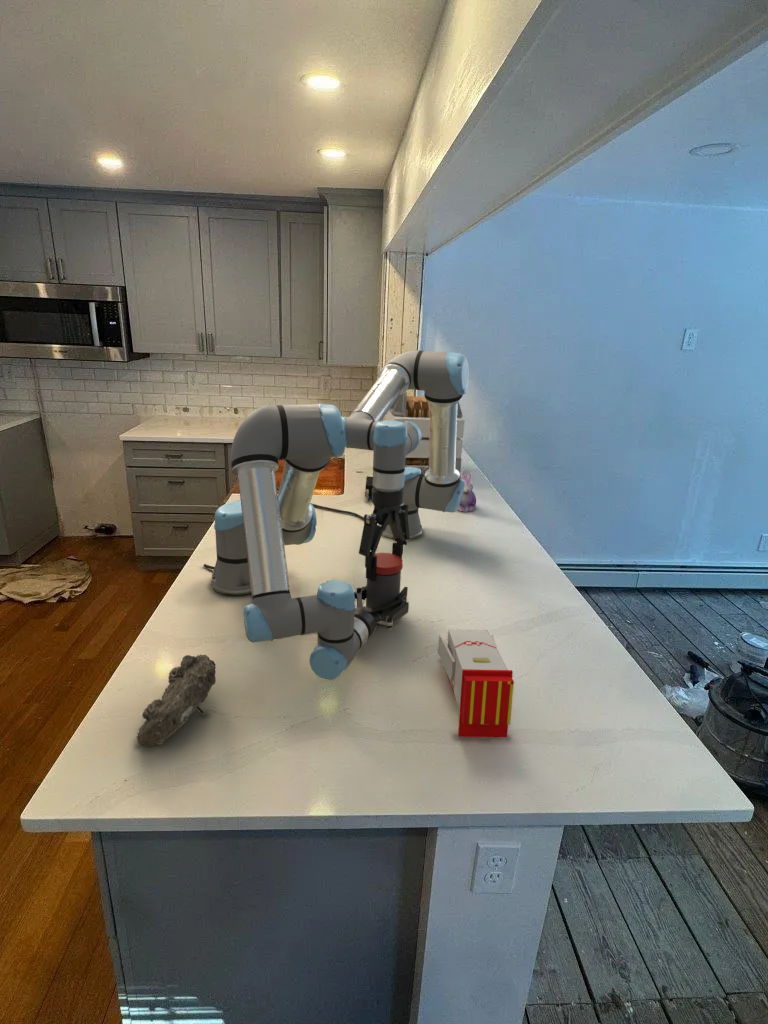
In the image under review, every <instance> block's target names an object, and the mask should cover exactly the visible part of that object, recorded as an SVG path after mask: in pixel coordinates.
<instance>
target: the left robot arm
mask: <svg viewBox="0 0 768 1024" xmlns="http://www.w3.org/2000/svg"><path fill="white" fill-rule="evenodd" d="M342 417H343V416H342V414H341V412H340V410H339V408H338V407H337V406H336V405H334V404H327V403H325V404H324V403H307V404H278V405H277V404H267V405H262V406H260V407H258V408H257V409H254V410H253V411H252V412H251V413H249V414H248V415H247V416H246V417H245V418H244V419H243V421H242V422H241V424H240V425H239V427H238V429H237V431H236V432H235V434H234V437H233V441H232V444H231V449H230V465H231V467H230V468H231V473H232V474H234V475H235V476H236V477H237V481H238V489H239V500H234V501H229V502H226V503H224V504H223V505H221V506H219V507H218V508H217V509H216V511H215V513H214V525H213V528H214V531H215V549H216V562H215V564H214V566H213V565H208V564H206V563H204V564H203V567H204V568H207V569H209V570H213V572H212V575H211V588H212V589H213V590H214V591H215V592H217V593H219V594H222V595H226V596H245V595H250V594H251V599H252V601H251V602H250V603H248V604H245V605H244V607H243V609H242V614H243V627H244V633H245V637H246V639H247V640H248V641H249V642H251V643H260V642H267V641H268V642H269V641H270V642H273V641H275V640H281V639H285V638H291V637H297V636H304V635H312V634H317V644H316V646H315V647H314V648H313V650H312V652H311V654H310V655H309V660H308V662H309V666H310V668H311V671H312V672H313V673H314V674H315V675H316V676H317V677H319V678H320V679H323V680H327V681H333V680H336V679H337V678H339V677H340V676H341V675H342V674H343V672H345V671H346V670H347V669H348V667H349V666H350V664H351V663H352V661H353V660H354V659H355V658H356V657H357V655H358V653H359V652H360V650H361V649H362V648H363V647H364V645H365V644H366V643H367V641H368V640H369V639H370V638H371V636H372V635H373V634H374V632H375V630H376V628H378V627H380V626H386V629H388V630H391V629H392V628H393V627H394V625H395V623H397V622H398V621H399V620H401V619H402V618H403V617H404V616H405V615H407V614H408V613H409V609H410V608H409V607H410V603H409V601H408V589H409V588H408V586H404V587H403V588H402V590H400V593H399V595H398V596H397V597H396V601H394V602H392V603H389V604H387V605H385V606H382V607H380V606H378V607H376V608H368V607H366V605H364V604H363V602H364V601H366V586H367V584H365V586H361V587H360V586H359V587H356V591H355V589H354V587H353V586H352V585H351V584H350V583H349V582H347V581H345V580H339V579H330V580H327V581H325V582H322V583H320V584H319V585H318V587H317V591H316V594H312V595H305V596H299V597H298V596H297V597H292V595H291V587H290V579H289V571H288V564H287V556H286V549H285V546H292V545H297V546H300V545H302V544H307V543H310V542H311V541H312V540H313V539H314V537H315V535H316V532H317V528H316V526H317V513H316V510H315V509H316V508H315V507H314V506H313V505H312V504H313V503H312V504H310V503H311V502H312V498H313V496H314V493H315V489H316V485H317V484H318V483H317V482H318V480H319V476H320V473H321V471H322V470H324V469H325V468H327V466H328V465H329V464H330V463H331V459H332V458H335V459H337V458H339V457H343V456H344V454H345V451H346V447H345V433H344V426H343V421H342ZM282 460H284V465H283V470H282V474H281V479H280V483H279V488H278V487H277V480H276V479H277V478H276V472H277V471H278V470H279V468H280V465H279V461H282ZM277 488H278V489H279V491H278V490H277ZM385 617H386V618H385ZM383 618H384V619H383ZM381 624H382V625H381Z"/></svg>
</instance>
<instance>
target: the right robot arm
mask: <svg viewBox="0 0 768 1024" xmlns="http://www.w3.org/2000/svg"><path fill="white" fill-rule="evenodd" d="M377 378H378V379H377V380H376V381H375V383H374V384H373V385H372V386H371V388H370V389H369V391H368V392H367V393H366V394H365V395H364V397H363V398H362V400H360V402H359V403H358V405H357V406H356V407H355V409H354V410H353V411H352V412H351V414H350V415H349V416H348V417H347V416H341V417H342V421H343V426H344V433H345V449H355V450H365V451H373V456H372V458H373V459H372V477H373V484H372V485H373V486H374V487H373V488H372V499H371V502H372V504H373V511H372V513H371V514H366V513H365V514H363V516H362V515H360V514H359V513H356V512H353V511H349V510H343V509H337V508H332V507H328V506H323V505H319V504H316V503H311V502H310V504H312V505H313V507H314V508H317V509H322V510H326V511H331V512H336V513H341V514H346V515H347V514H348V515H351V516H355V517H357V518H359V519H361V520H363V529H362V533H361V537H360V544H359V549H358V554H359V555H361V556H363V557H365V558H364V567H365V579H366V580H367V579H369V580H371V581H373V582H374V581H376V568H377V556H375V553H377V549H378V547H379V544H380V541H381V538H382V537H385V538H387V539H389V540H394V542H392V544H391V545H392V548H391V554H395V555H397V556H399V557H401V558H402V559H403V554H404V546H407V545H408V541H410V540H415V539H418V538H420V537H421V536H422V535H423V525H422V524H421V518H420V515H419V509H424V510H432V511H437V512H442V513H456V512H457V511H458V507H459V505H460V502H461V499H462V495H463V491H464V486H465V481H464V480H463V479H461V474H460V473H459V471H458V470H456V469H455V463H456V432H457V403H458V402H459V403H460V402H461V401H462V399H463V398H464V395H466V394H467V393H468V391H469V386H470V366H469V362H468V359H467V357H466V356H465V355H464V354H462V353H459V352H453V351H437V350H436V351H435V350H421V349H413V350H409V351H405V352H402V353H400V354H397V356H394V357H392V358H391V359H389V360H388V361H387V362H386V363H385V364H384V365H383V366H382V368H381V369H380V370H379V372H378V377H377ZM408 390H414V391H423V393H424V396H423V397H425V399H426V400H427V401H428V402H429V465H428V469H427V470H426V471H425V472H424V473H422V470H421V468H419V467H417V466H406V465H405V458H406V455H407V454H409V453H410V452H412V451H414V450H415V449H416V448H417V446H418V445H419V443H420V441H421V438H422V437H421V431H420V429H419V427H418V426H417V425H416V424H415V423H413V422H410V421H403V422H399V421H386V420H383V419H384V418H385V417H386V414H387V412H388V411H389V409H390V408H391V406H392V405H393V403H394V402H395V400H396V399H397V397H398V396H399V395H400V394H403V393H404V392H405V391H406V392H407V391H408ZM277 492H279V488H278V487H277Z"/></svg>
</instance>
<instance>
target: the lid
mask: <svg viewBox="0 0 768 1024" xmlns="http://www.w3.org/2000/svg"><path fill="white" fill-rule="evenodd" d="M375 556H377V568H376V574H382V575H390V574H395V573H398V572H400V571H401V572H402V570H403V567H404V564H403V561H404V560H403V557H402V558H401V557H399V556H397V555H395V554H392V552H376V553H375Z"/></svg>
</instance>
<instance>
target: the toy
mask: <svg viewBox="0 0 768 1024" xmlns="http://www.w3.org/2000/svg"><path fill="white" fill-rule="evenodd" d="M446 640H447V643H446V641H445V639H444V636H443V635H442V634H439V637H438V646H437V656H438V657H439V659H440V661H441V663H442V666H443V668H444V670H445V672H446V674H447V677H448V679H449V681H450V684H451V687H452V690H453V693H454V697H455V701H456V705H457V708H458V711H459V714H458V715H459V716H458V730H457V731H458V732H457V737H458V738H508V731H509V726H510V725H511V717H512V707H513V697H514V696H513V695H514V684H515V680H514V679H513V673H514V671H513V670H512V669H508V667H507V665H506V662H505V661H504V659H503V658H502V655H501V653H500V651H499V649H498V647H497V643H496V639H495V637H494V635H493V634H491V632H490V631H489V629H467V628H466V629H465V628H463V629H461V628H460V629H459V628H448V630H447V639H446Z"/></svg>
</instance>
